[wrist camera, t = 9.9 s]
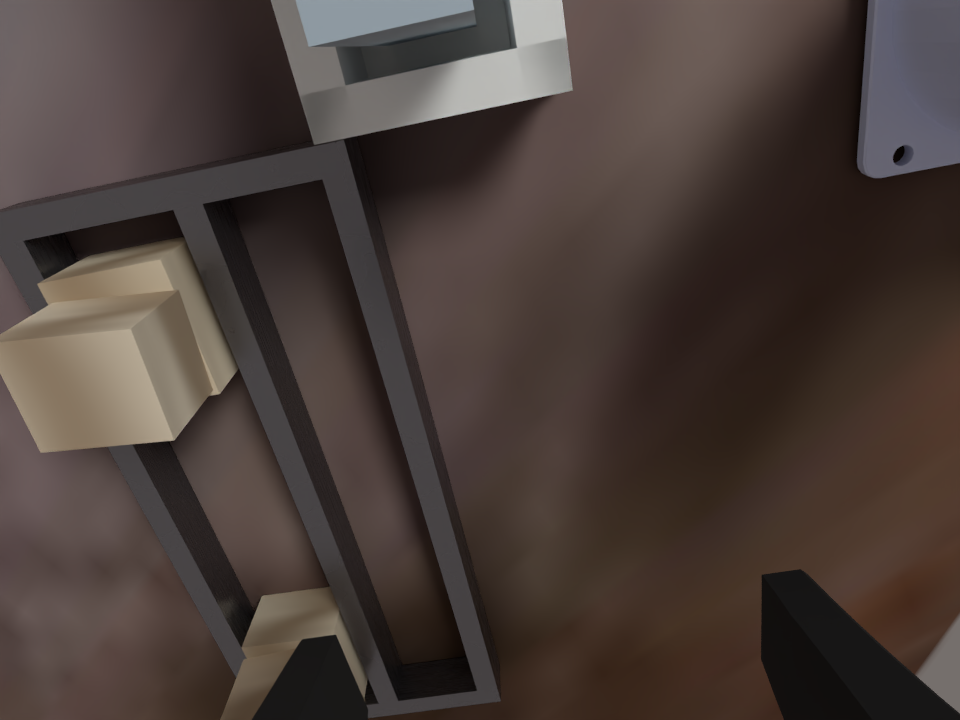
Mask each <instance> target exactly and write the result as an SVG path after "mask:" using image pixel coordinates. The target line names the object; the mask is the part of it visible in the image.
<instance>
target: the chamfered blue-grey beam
mask: <svg viewBox="0 0 960 720" xmlns="http://www.w3.org/2000/svg"><path fill="white" fill-rule="evenodd" d="M296 4H297V7H298V11H299V14H300V18H301V21H302V25H303V28H304V32H305V35H306V39H307V42H308V46H309V47H346V46H391V45H395V44H400V43H404V42H408V41H413V40H417V39H422V38H426V37H431V36H435V35H440V34H444V33H449V32H453V31H458V30H462V29H467V28H471V27H476V26H477V24H476V18H475V12H474V6H473V0H296Z"/></svg>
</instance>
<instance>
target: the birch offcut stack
mask: <svg viewBox="0 0 960 720" xmlns="http://www.w3.org/2000/svg"><path fill="white" fill-rule="evenodd" d="M37 285H38V287H39V289H40V291H41V292H42V294H43V296H44V298H45V300H46V302H47V304H48V306H46V307H45V308H43V309H41V310H40V311H38V312H37V313H35V314H33V315H32V316H30V317H28V318H27V319H25V320H23V321H22V322H20V323H18V324H17V325H15V326H13V327H12V328H10V329H8V330H7V331H5V332H4V333H2V334H0V374H1V376H2V378H3V380H4V382H5V383H6V385H7V387H8V389H9V391H10V393H11V395H12V397H13V399H14V401H15V403H16V405H17V407H18V409H19V411H20V413H21V415H22V417H23V419H24V421H25V423H26V425H27V426H28V428H29V430H30V432H31V434H32V436H33V438H34V440H35V442H36V444H37V446H38V448H39V450H40V452H41V453H43V452H54V451H65V450H76V449H87V448H97V447H108V446H119V445H130V444H141V443H152V442H163V441H174V440H175V439H176V438H177V436H178V435H179V434H180V432H181V431H182V430H183V429H184V427H185V426H186V425H187V423H188V422H189V421H190V419H191V418H192V417H193V416H194V414H195V413H196V412H197V410H198V409H199V408H200V406H201V405H202V404H203V403H204V401H205V400H206V399H207V397H208V396H212V395H217V394H220V393H221V392H222V390H223V389H224V388H225V386H226V385H227V384H228V382H229V381H230V380H231V378H232V377H233V376H234V374H235V373H236V372H237V370H238V369H239V367H238V365H237V362H236V360H235V357H234V355H233V353H232V350H231V348H230V345H229V343H228V341H227V338H226V336H225V333H224V331H223V329H222V326H221V324H220V321H219V319H218V317H217V314H216V312H215V309H214V307H213V304H212V302H211V300H210V297H209V295H208V292H207V290H206V288H205V285H204V283H203V280H202V278H201V276H200V273H199V271H198V268H197V266H196V264H195V261H194V259H193V256H192V254H191V252H190V249H189V247H188V244H187V242H186V240H185V237H184V236H183V237H178V238H173V239H168V240H163V241H158V242H153V243H148V244H143V245H138V246H133V247H128V248H123V249H118V250H114V251H109V252H104V253H99V254H94V255H89V256H88V257H86V258H84V259H82V260H80V261H78V262H77V263H75V264H73V265H71V266H69V267H67V268H65V269H64V270H62V271H60V272H58V273H56V274H54V275H53V276H51V277H49V278H47V279H45V280H43V281H41V282H40V283H38V284H37Z"/></svg>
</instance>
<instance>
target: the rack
mask: <svg viewBox="0 0 960 720" xmlns="http://www.w3.org/2000/svg"><path fill="white" fill-rule="evenodd" d="M321 179H322V180H323V183H324V186H325V190H326V193H327V196H328V199H329V203H330V206H331V209H332V213H333V216H334V219H335V223H336V226H337V229H338V233H339V236H340V239H341V242H342V246H343V249H344V252H345V256H346V259H347V262H348V266H349V269H350V272H351V275H352V279H353V282H354V285H355V289H356V292H357V295H358V299H359V302H360V305H361V309H362V312H363V315H364V318H365V322H366V325H367V328H368V332H369V335H370V338H371V342H372V345H373V348H374V351H375V355H376V358H377V361H378V365H379V368H380V371H381V375H382V378H383V381H384V385H385V388H386V391H387V394H388V398H389V401H390V404H391V408H392V411H393V414H394V418H395V421H396V424H397V427H398V431H399V434H400V437H401V441H402V444H403V447H404V451H405V454H406V457H407V461H408V464H409V467H410V470H411V474H412V477H413V480H414V484H415V487H416V490H417V494H418V497H419V500H420V503H421V507H422V510H423V513H424V517H425V520H426V523H427V527H428V530H429V533H430V537H431V540H432V543H433V546H434V550H435V553H436V556H437V560H438V563H439V566H440V570H441V573H442V576H443V579H444V583H445V586H446V589H447V593H448V596H449V599H450V603H451V606H452V609H453V613H454V616H455V619H456V622H457V626H458V629H459V632H460V636H461V639H462V642H463V646H464V649H465V652H466V655H467V657H461V658H454V659H446V660H439V661H432V662H424V663H417V664H409V665H402V663H401V660H400V657H399V655H398V652H397V649H396V647H395V644H394V641H393V639H392V636H391V633H390V631H389V628H388V625H387V623H386V620H385V617H384V614H383V612H382V609H381V606H380V604H379V601H378V598H377V596H376V593H375V590H374V588H373V585H372V582H371V580H370V577H369V574H368V572H367V569H366V566H365V564H364V561H363V558H362V556H361V553H360V550H359V548H358V545H357V542H356V540H355V537H354V534H353V532H352V529H351V526H350V524H349V521H348V518H347V516H346V513H345V510H344V507H343V505H342V502H341V499H340V497H339V494H338V491H337V489H336V486H335V483H334V481H333V478H332V475H331V473H330V470H329V467H328V465H327V462H326V459H325V457H324V454H323V451H322V449H321V446H320V443H319V441H318V438H317V435H316V433H315V430H314V427H313V425H312V422H311V419H310V417H309V414H308V411H307V409H306V406H305V403H304V400H303V398H302V395H301V392H300V390H299V387H298V384H297V382H296V379H295V376H294V374H293V371H292V368H291V366H290V363H289V360H288V358H287V355H286V352H285V350H284V347H283V344H282V342H281V339H280V336H279V334H278V331H277V328H276V326H275V323H274V320H273V318H272V315H271V312H270V310H269V307H268V304H267V302H266V299H265V296H264V293H263V291H262V288H261V285H260V283H259V280H258V277H257V275H256V272H255V269H254V267H253V264H252V261H251V259H250V256H249V253H248V251H247V248H246V245H245V243H244V240H243V237H242V235H241V232H240V229H239V227H238V224H237V221H236V219H235V216H234V213H233V211H232V208H231V205H230V203H229V200H228V199H229V198H234V197H239V196H243V195H248V194H253V193H258V192H263V191H268V190H273V189H277V188H282V187H287V186H292V185H297V184H302V183H307V182H311V181H316V180H321ZM170 210H173V211H174V213H175V216H176V218H177V220H178V223H179V225H180V228H181V230H182V232H183V235H184V237H185V240H186V242H187V244H188V247H189V249H190V252H191V254H192V256H193V259H194V261H195V264H196V266H197V268H198V271H199V273H200V276H201V278H202V280H203V283H204V285H205V288H206V290H207V292H208V295H209V297H210V300H211V302H212V304H213V307H214V309H215V312H216V314H217V317H218V319H219V321H220V324H221V326H222V329H223V331H224V333H225V336H226V338H227V341H228V343H229V345H230V348H231V350H232V353H233V355H234V357H235V360H236V362H237V365H238V367H239V369H240V372H241V374H242V377H243V379H244V381H245V384H246V386H247V389H248V391H249V393H250V396H251V398H252V401H253V403H254V405H255V408H256V410H257V413H258V415H259V417H260V420H261V422H262V425H263V427H264V429H265V432H266V434H267V437H268V439H269V441H270V444H271V446H272V449H273V451H274V453H275V456H276V458H277V461H278V463H279V465H280V468H281V470H282V473H283V475H284V477H285V480H286V482H287V485H288V487H289V490H290V492H291V494H292V497H293V499H294V502H295V504H296V506H297V509H298V511H299V514H300V516H301V518H302V521H303V523H304V526H305V528H306V530H307V533H308V535H309V538H310V540H311V542H312V545H313V547H314V550H315V552H316V554H317V557H318V559H319V562H320V564H321V566H322V569H323V571H324V574H325V576H326V578H327V581H328V583H329V586H330V588H331V590H332V593H333V595H334V598H335V600H336V602H337V605H338V607H339V610H340V612H341V614H342V617H343V619H344V622H345V624H346V626H347V629H348V631H349V634H350V636H351V638H352V641H353V643H354V646H355V648H356V650H357V653H358V655H359V658H360V660H361V663H362V665H363V667H364V670H365V672H366V675H367V677H368V680H367V686H366V692H365V697H364V699H365V703H366V706H367V708H368V718H374V717H381V716H389V715H397V714H405V713H413V712H421V711H428V710H436V709H444V708H452V707H460V706H468V705H475V704H483V703H491V702H499V701H501V689H500V665H499V661H498V657H497V654H496V650H495V646H494V642H493V639H492V635H491V631H490V628H489V624H488V620H487V617H486V613H485V609H484V606H483V602H482V598H481V594H480V591H479V587H478V583H477V580H476V576H475V572H474V569H473V565H472V561H471V557H470V554H469V550H468V546H467V543H466V539H465V535H464V532H463V528H462V524H461V521H460V517H459V513H458V509H457V506H456V502H455V498H454V495H453V491H452V487H451V484H450V480H449V476H448V472H447V469H446V465H445V461H444V458H443V454H442V450H441V447H440V443H439V439H438V435H437V432H436V428H435V424H434V421H433V417H432V413H431V410H430V406H429V402H428V399H427V395H426V391H425V387H424V384H423V380H422V376H421V373H420V369H419V365H418V362H417V358H416V354H415V350H414V347H413V343H412V339H411V336H410V332H409V328H408V325H407V321H406V317H405V314H404V310H403V306H402V302H401V299H400V295H399V291H398V288H397V284H396V280H395V277H394V273H393V269H392V265H391V262H390V258H389V254H388V251H387V247H386V243H385V240H384V236H383V232H382V228H381V225H380V221H379V217H378V214H377V210H376V206H375V203H374V199H373V195H372V192H371V188H370V184H369V180H368V177H367V173H366V169H365V166H364V162H363V158H362V155H361V151H360V147H359V143H358V140H357V136H354V137H350V138H345V139H340V140H335V141H331V142H326V143H321V144H316V145H314V143H313V141H310V142H305V143H301V144H296V145H291V146H286V147H282V148H277V149H272V150H268V151H263V152H258V153H253V154H249V155H244V156H239V157H234V158H230V159H225V160H220V161H215V162H211V163H206V164H201V165H197V166H192V167H187V168H182V169H178V170H173V171H168V172H163V173H159V174H154V175H149V176H145V177H140V178H135V179H130V180H126V181H121V182H116V183H111V184H107V185H102V186H97V187H93V188H88V189H83V190H78V191H74V192H69V193H64V194H59V195H55V196H50V197H45V198H41V199H36V200H31V201H26V202H22V203H18V204H15V205H12V206H9V207H6V208H3V209H0V256H1V258H2V259H3V261H4V263H5V265H6V266H7V268H8V270H9V272H10V274H11V275H12V277H13V279H14V281H15V283H16V284H17V286H18V288H19V290H20V292H21V293H22V295H23V297H24V299H25V301H26V302H27V304H28V306H29V308H30V309H31V311H32V313H33V314H35V313H37V312H38V311H40V310H41V309H43V308H45V307H46V306H48V304H47V302H46V300H45V298H44V296H43V294H42V292H41V291H40V289H39V287H38V285H37V284H38V283H40V282H41V281H43V280H45V279H47V278H49V277H51V276H53V275H54V274H56V273H58V272H60V271H62V270H64V269H65V268H67V267H69V266H71V265H73V264H75V263H77V262H78V261H77V259H76V257H75V255H74V253H73V251H72V249H71V247H70V245H69V243H68V241H67V239H66V237H65V235H64V232H68V231H73V230H78V229H83V228H88V227H93V226H98V225H102V224H107V223H112V222H117V221H122V220H127V219H132V218H136V217H141V216H146V215H151V214H156V213H161V212H166V211H170ZM108 449H109V451H110V453H111V455H112V456H113V458H114V460H115V462H116V464H117V465H118V467H119V469H120V471H121V473H122V474H123V476H124V478H125V480H126V481H127V483H128V485H129V487H130V489H131V490H132V492H133V494H134V496H135V498H136V499H137V501H138V503H139V505H140V507H141V508H142V510H143V512H144V514H145V516H146V517H147V519H148V521H149V523H150V524H151V526H152V528H153V530H154V532H155V533H156V535H157V537H158V539H159V541H160V542H161V544H162V546H163V548H164V550H165V551H166V553H167V555H168V557H169V558H170V560H171V562H172V564H173V566H174V567H175V569H176V571H177V573H178V575H179V576H180V578H181V580H182V582H183V584H184V585H185V587H186V589H187V591H188V593H189V594H190V596H191V598H192V600H193V601H194V603H195V605H196V607H197V609H198V610H199V612H200V614H201V616H202V618H203V619H204V621H205V623H206V625H207V627H208V628H209V630H210V632H211V634H212V636H213V637H214V639H215V641H216V643H217V644H218V646H219V648H220V650H221V652H222V653H223V655H224V657H225V659H226V661H227V662H228V664H229V666H230V668H231V670H232V671H233V673H234V675H235V677H236V678H237V675H238V673H239V670H240V667H241V665H242V662H243V660H244V659H247V658H246V656H245V654H244V652H243V650H242V648H241V647H242V645H243V642H244V640H245V637H246V635H247V632H248V630H249V627H250V625H251V622H252V620H253V617H254V615H255V613H254V611H253V609H252V607H251V605H250V603H249V601H248V599H247V597H246V595H245V593H244V591H243V589H242V587H241V585H240V583H239V581H238V579H237V577H236V575H235V573H234V571H233V569H232V567H231V565H230V563H229V561H228V559H227V557H226V555H225V553H224V551H223V549H222V547H221V545H220V543H219V541H218V539H217V537H216V535H215V533H214V531H213V529H212V527H211V525H210V523H209V521H208V519H207V517H206V515H205V513H204V511H203V509H202V507H201V505H200V503H199V501H198V499H197V497H196V495H195V493H194V491H193V489H192V487H191V485H190V483H189V481H188V479H187V477H186V475H185V473H184V471H183V469H182V467H181V465H180V463H179V462H178V460H177V458H176V456H175V454H174V452H173V450H172V448H171V446H170V444H169V442H168V441H163V442H152V443H141V444H130V445H119V446H108Z"/></svg>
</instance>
